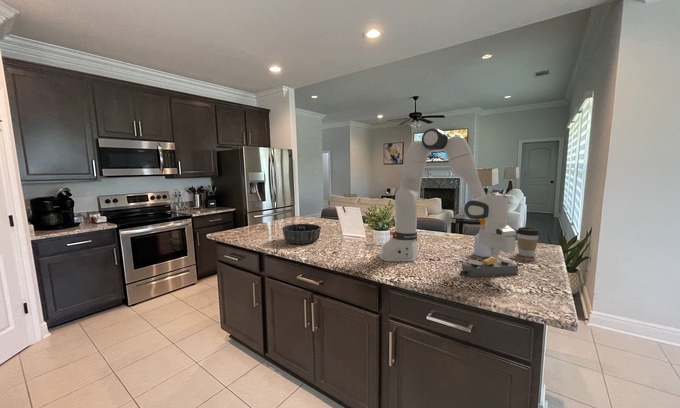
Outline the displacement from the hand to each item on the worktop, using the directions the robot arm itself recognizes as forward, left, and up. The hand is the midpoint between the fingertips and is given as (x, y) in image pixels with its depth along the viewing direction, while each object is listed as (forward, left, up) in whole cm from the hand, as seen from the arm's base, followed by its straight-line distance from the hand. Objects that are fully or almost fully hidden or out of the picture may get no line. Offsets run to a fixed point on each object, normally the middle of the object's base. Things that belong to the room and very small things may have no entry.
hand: (494, 257), depth 133 cm
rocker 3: (+6, 0, -3) cm, 7 cm away
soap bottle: (+14, +26, -8) cm, 31 cm away
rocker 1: (-10, 0, -3) cm, 10 cm away
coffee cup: (+38, +21, -8) cm, 44 cm away
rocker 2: (-2, 0, -3) cm, 3 cm away
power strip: (-4, 0, -7) cm, 8 cm away
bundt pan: (-85, +78, -8) cm, 116 cm away
